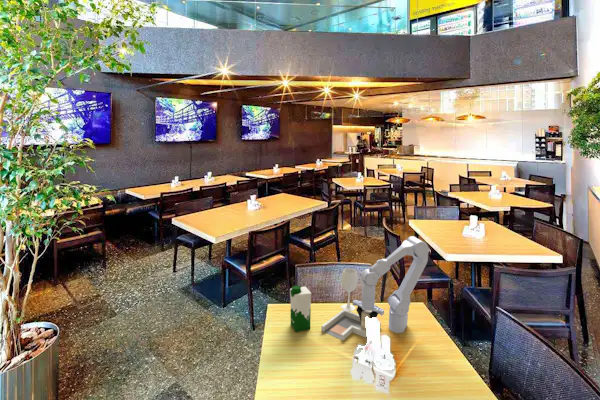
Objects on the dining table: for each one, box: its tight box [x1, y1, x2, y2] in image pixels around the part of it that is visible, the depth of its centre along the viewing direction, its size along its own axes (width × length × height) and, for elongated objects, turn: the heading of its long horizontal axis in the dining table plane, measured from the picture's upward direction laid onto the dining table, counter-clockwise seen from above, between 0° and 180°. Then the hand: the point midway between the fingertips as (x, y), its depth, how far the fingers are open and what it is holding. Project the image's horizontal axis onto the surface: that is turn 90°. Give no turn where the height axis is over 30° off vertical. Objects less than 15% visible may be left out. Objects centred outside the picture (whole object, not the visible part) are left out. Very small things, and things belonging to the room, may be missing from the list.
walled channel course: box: [320, 309, 382, 341], centre depth 142 cm, size 19×20×3 cm
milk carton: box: [289, 285, 312, 333], centre depth 144 cm, size 9×9×20 cm
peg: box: [361, 310, 372, 331], centre depth 141 cm, size 4×4×9 cm
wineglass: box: [339, 267, 359, 312], centre depth 161 cm, size 9×9×21 cm
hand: (367, 324), depth 141 cm, fingers closed on peg, 4 cm apart
